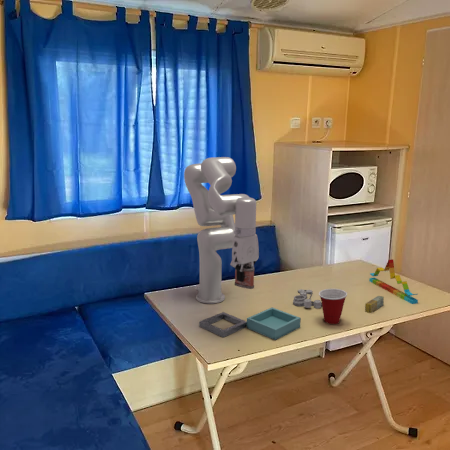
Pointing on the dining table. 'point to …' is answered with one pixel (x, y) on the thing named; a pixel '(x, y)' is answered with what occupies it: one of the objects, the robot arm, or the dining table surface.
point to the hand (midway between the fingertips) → (244, 279)
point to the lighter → (246, 277)
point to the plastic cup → (332, 304)
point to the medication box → (374, 304)
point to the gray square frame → (223, 333)
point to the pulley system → (306, 300)
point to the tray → (273, 323)
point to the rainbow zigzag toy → (402, 295)
